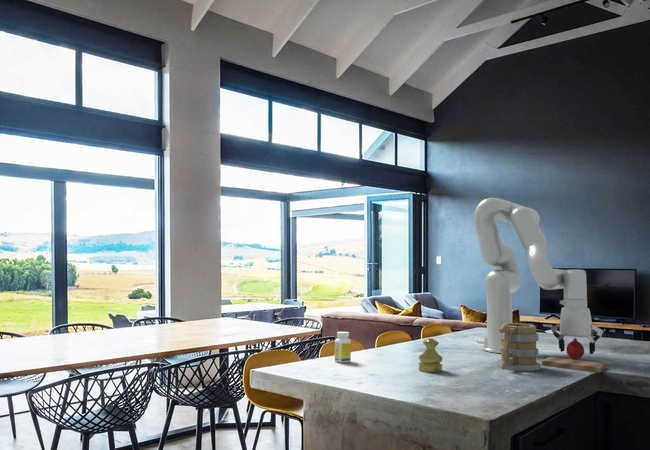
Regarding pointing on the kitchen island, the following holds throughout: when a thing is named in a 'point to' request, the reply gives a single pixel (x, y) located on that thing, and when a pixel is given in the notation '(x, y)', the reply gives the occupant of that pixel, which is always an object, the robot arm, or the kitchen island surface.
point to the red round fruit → (575, 349)
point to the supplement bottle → (342, 348)
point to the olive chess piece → (430, 357)
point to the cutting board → (574, 364)
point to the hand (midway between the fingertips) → (576, 352)
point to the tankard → (518, 347)
